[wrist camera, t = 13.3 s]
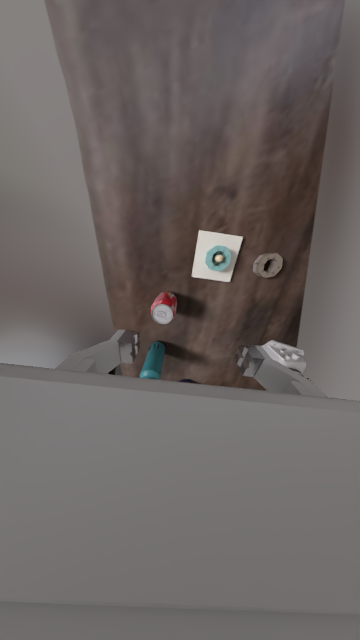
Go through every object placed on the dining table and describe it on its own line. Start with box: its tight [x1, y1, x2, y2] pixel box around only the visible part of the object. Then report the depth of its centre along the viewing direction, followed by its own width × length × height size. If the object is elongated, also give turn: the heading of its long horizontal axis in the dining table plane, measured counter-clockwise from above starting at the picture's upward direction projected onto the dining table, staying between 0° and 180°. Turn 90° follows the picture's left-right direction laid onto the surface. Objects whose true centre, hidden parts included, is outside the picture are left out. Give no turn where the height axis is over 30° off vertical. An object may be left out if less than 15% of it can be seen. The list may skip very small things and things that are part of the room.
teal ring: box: [205, 245, 231, 271], centre depth 35 cm, size 6×6×4 cm
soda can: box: [151, 291, 177, 324], centre depth 39 cm, size 7×7×12 cm
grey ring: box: [253, 253, 283, 278], centre depth 37 cm, size 6×6×4 cm
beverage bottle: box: [140, 342, 165, 380], centre depth 44 cm, size 6×7×20 cm
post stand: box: [192, 230, 243, 282], centre depth 35 cm, size 12×12×6 cm
